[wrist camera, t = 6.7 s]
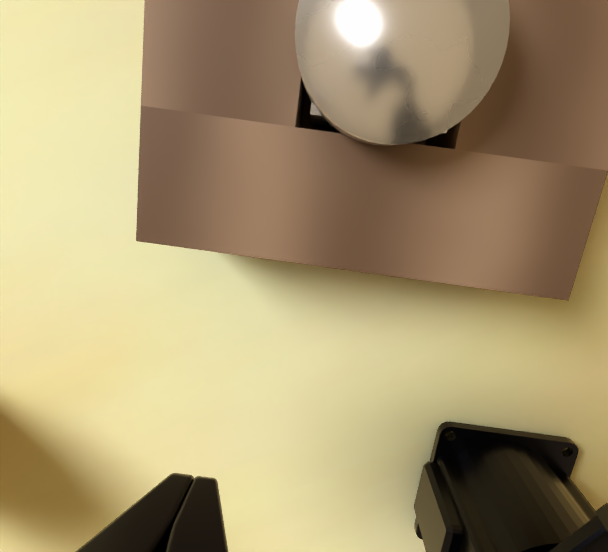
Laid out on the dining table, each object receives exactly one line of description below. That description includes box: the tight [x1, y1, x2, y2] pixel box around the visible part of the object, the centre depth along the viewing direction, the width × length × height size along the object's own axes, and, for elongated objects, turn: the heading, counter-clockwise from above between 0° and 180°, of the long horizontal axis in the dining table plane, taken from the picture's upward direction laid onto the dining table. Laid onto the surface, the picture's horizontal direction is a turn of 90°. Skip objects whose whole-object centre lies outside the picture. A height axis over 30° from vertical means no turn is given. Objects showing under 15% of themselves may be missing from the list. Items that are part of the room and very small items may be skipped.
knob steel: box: [295, 0, 510, 146], centre depth 13 cm, size 5×5×5 cm
